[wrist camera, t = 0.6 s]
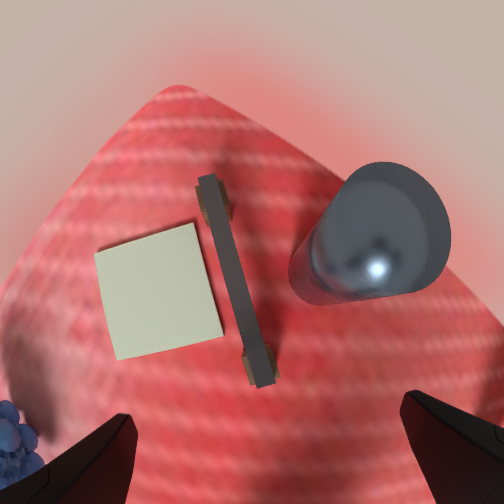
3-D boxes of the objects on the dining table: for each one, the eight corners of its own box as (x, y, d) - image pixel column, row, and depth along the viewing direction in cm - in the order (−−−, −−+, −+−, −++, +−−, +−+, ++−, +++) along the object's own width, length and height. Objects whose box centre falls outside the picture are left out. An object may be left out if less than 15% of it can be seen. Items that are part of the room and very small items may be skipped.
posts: (275, 367, 21) (280, 377, 18) (250, 374, 21) (250, 385, 18) (225, 197, 24) (222, 178, 21) (202, 204, 24) (194, 186, 20)
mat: (224, 335, 22) (223, 335, 21) (119, 359, 21) (116, 360, 21) (194, 224, 23) (193, 222, 23) (96, 254, 23) (94, 253, 22)
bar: (274, 379, 18) (276, 383, 17) (256, 384, 18) (256, 388, 17) (216, 180, 21) (214, 172, 19) (200, 185, 20) (197, 177, 19)
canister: (360, 293, 22) (465, 268, 10) (299, 314, 22) (363, 313, 9) (340, 232, 24) (420, 154, 11) (279, 250, 23) (315, 174, 10)
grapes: (89, 461, 19) (17, 517, 7) (59, 482, 18) (-5, 529, 6) (18, 364, 21) (-71, 373, 9) (-5, 395, 20) (-81, 409, 8)
